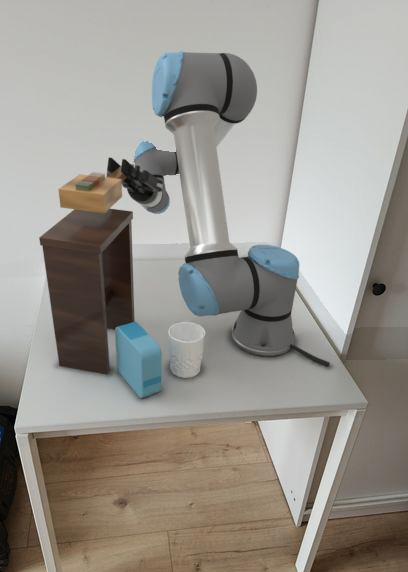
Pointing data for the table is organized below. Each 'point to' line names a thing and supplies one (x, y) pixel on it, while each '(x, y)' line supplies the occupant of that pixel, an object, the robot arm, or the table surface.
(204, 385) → the table surface
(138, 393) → the data package
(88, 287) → the dark wooden cabinet
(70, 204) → the wooden box with handle
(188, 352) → the white cup
